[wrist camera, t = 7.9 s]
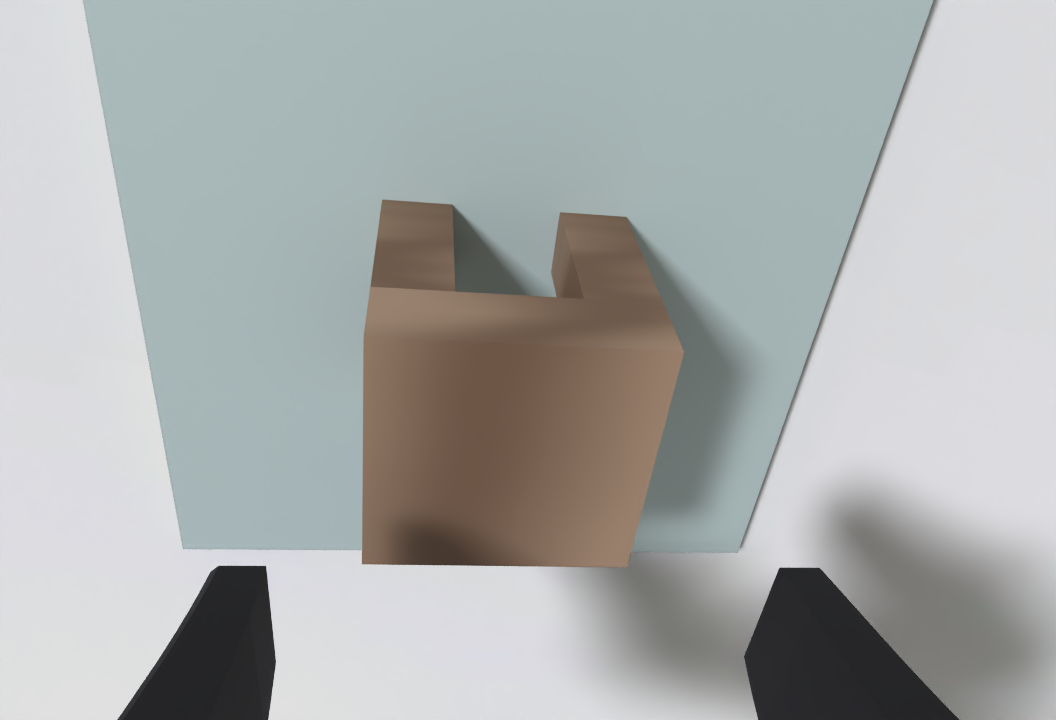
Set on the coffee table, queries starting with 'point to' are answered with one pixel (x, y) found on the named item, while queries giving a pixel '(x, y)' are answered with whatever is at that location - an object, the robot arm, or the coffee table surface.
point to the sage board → (478, 214)
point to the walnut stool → (510, 400)
